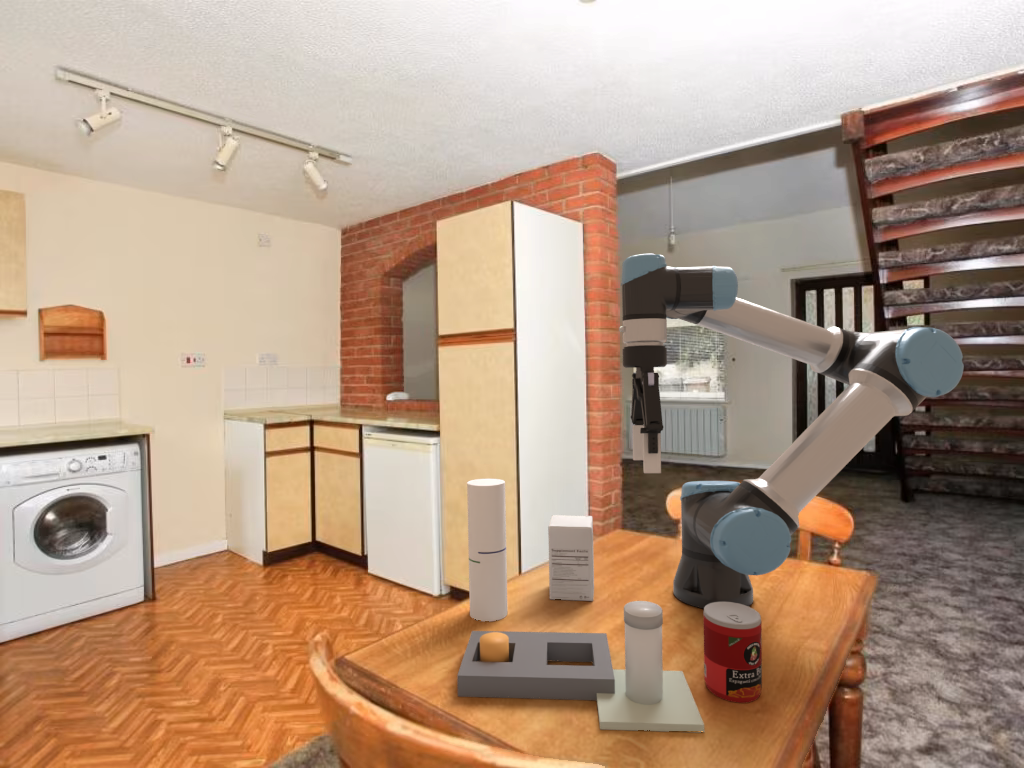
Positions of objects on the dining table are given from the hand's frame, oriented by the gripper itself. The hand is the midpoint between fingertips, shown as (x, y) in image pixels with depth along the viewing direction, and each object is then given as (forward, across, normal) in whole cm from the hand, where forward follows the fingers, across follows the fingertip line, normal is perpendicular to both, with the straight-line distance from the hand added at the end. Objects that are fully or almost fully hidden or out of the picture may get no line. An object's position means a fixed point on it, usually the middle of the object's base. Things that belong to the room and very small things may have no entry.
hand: (645, 466), depth 102 cm
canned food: (+29, +19, +9) cm, 36 cm away
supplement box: (+29, -16, -13) cm, 36 cm away
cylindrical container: (+29, -5, -29) cm, 41 cm away
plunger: (+28, +16, -25) cm, 41 cm away
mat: (+29, +23, -4) cm, 37 cm away
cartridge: (+28, +23, -4) cm, 36 cm away
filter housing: (+29, +16, -19) cm, 38 cm away
